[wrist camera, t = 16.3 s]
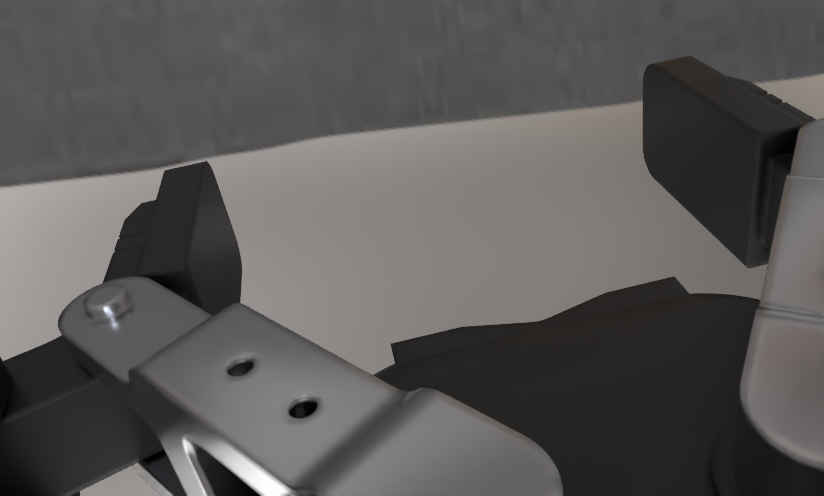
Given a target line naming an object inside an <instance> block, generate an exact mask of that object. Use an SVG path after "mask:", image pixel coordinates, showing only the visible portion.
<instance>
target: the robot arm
mask: <svg viewBox="0 0 824 496" xmlns="http://www.w3.org/2000/svg"><path fill="white" fill-rule="evenodd" d="M643 153H644V158H645V162H646V165H647V167H648V170H649V172H650V174H651V175H652V176H653V178H654V179H655V180H656V181H657V182H659V183H660V185H662V186H663V187H664V188H665V189H666V190H667V191H668V192H669V193H670V194H671V195H672V196H673V197H674V198H675V199H676V200H677V201H678V202H679V203H680V204H681V205H682V206H684V207H685V208H686V209H687V210H688V211H689V212H690V213H691V214H692V215H693V216H694V217H695V218H696V219H697V220H698V221H699V222H700V223H701V224H702V225H703V226H704V227H705V228H707V230H709V231H710V232H711V233H712V234H713V235H714V236H715V237H716V238H717V239H718V240H719V241H720V242H721V243H722V244H723V245H724V246H725V247H726V248H727V249H728V250H729V251H730V252H731V253H733V254H734V255H735V256H736V257H737V258H738V259H739V260H740V261H741V262H742V263H743V264H744V265H745V266H746V267H747V268H753V267H757V266H761V265H765V264H768V266H767V271H766V276H765V281H764V285H763V290H762V295H761V300H758V299H753V298H749V297H742V296H736V295H726V294H705V293H699V294H698V293H697V294H689V293H688V292H687V291H686V289H685V288H684V287H683V286H682V285H681V284H680V283H679V281H678V280H677V279H676V278H675V277H670V278H666V279H662V280H658V281H653V282H649V283H645V284H641V285H637V286H633V287H628V288H624V289H620V290H615V291H612V292H607V293H604V294H602V295H600V296H598V297H595V298H593V299H591V300H588V301H586V302H584V303H582V304H579V305H577V306H575V307H572V308H570V309H568V310H566V311H563V312H561V313H559V314H557V315H554V316H552V317H550V318H547V319H545V320H542V321H538V322H529V323H513V324H499V325H484V326H469V327H460V328H456V329H451V330H448V331H443V332H439V333H434V334H430V335H426V336H422V337H418V338H414V339H409V340H405V341H401V342H396V343H393V344H391V347H392V352H393V356H394V360H395V364H393V365H391V366H389V367H387V368H385V369H383V370H381V371H379V372H378V373H376V374H374V375H371V374H370V373H368V372H366V371H364V370H362V369H360V368H359V367H357V366H355V365H353V364H351V363H349V362H348V361H346V360H344V359H342V358H340V357H338V356H337V355H335V354H333V353H331V352H329V351H327V350H326V349H324V348H322V347H320V346H319V345H317V344H315V343H313V342H311V341H309V340H308V339H306V338H304V337H302V336H300V335H298V334H297V333H295V332H293V331H291V330H289V329H287V328H286V327H284V326H282V325H280V324H278V323H276V322H275V321H273V320H271V319H269V318H268V317H266V316H264V315H262V314H260V313H258V312H256V311H255V310H253V309H251V308H249V307H247V306H246V305H244V304H241V303H240V297H241V279H242V263H241V257H240V252H239V248H238V243H237V240H236V237H235V234H234V231H233V228H232V225H231V222H230V219H229V216H228V213H227V210H226V208H225V205H224V202H223V199H222V196H221V193H220V190H219V187H218V184H217V181H216V178H215V175H214V173H213V171H212V168H211V167H210V165H209V163H208V162H207V161H206V162H201V163H196V164H192V165H187V166H183V167H178V168H174V169H169V170H165V172H164V174H163V178H162V181H161V185H160V188H159V192H158V196H157V199H156V200H154V201H149V202H145V203H141V205H139V206H138V207H137V208H136V209H135V210H134V211H133V212H132V214H130V215H129V216H128V217H127V218H126V219H125V221H124V224H123V227H122V229H121V232H120V235H119V237H120V239H118V241H117V244H116V247H115V253H113V255H112V258H111V261H110V264H109V267H108V269H107V272H106V275H105V278H104V281H103V283H102V284H100V285H98V286H95V287H93V288H92V289H90V290H87V291H86V292H84V293H83V294H81V295H79V296H78V297H77V298H75V299H74V300H73V301H72V302H71V303H70V304H68V305H67V306H66V308H65V309H64V310H63V311H62V313H61V315H60V317H59V320H58V327H59V330H60V332H61V334H62V335H61V336H60V337H58V338H56V339H54V340H52V341H50V342H48V343H46V344H43V345H41V346H39V347H36V348H34V349H32V350H29V351H27V352H24V353H22V354H19V355H17V356H15V357H12V358H10V359H7V360H5V361H2V359H1V357H0V496H80V491H81V490H83V489H85V488H87V487H89V486H91V485H93V484H95V483H97V482H99V481H101V480H103V479H105V478H107V477H109V476H111V475H113V474H115V473H117V472H119V471H121V470H123V469H126V468H128V467H129V466H132V467H133V469H134V470H135V471H136V472H137V474H138V475H139V476H140V477H141V478H143V479H144V480H145V481H146V482H147V483H148V484H149V485H150V486H151V487H152V488H153V489H154V490H155V491H156V492H157V493H158V494H159V495H160V496H824V118H822V119H818V120H816V119H814V118H813V117H811V116H809V115H807V114H805V113H804V112H802V111H800V110H798V109H797V108H795V107H793V106H791V105H790V104H788V103H786V102H785V103H782V100H781V99H779V98H777V97H775V96H774V95H772V94H767V91H765V90H763V89H761V88H760V87H758V86H756V85H754V84H753V83H751V82H749V81H745V80H741V79H737V78H733V77H729V76H725V75H723V74H721V73H720V72H718V71H716V70H715V69H713V68H711V67H709V66H708V65H706V64H704V63H703V62H701V61H699V60H697V59H696V58H694V57H692V56H686V57H682V58H677V59H673V60H668V61H663V62H659V63H654V64H650V65H649V66H647V68H646V70H645V73H644V77H643Z"/></svg>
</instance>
